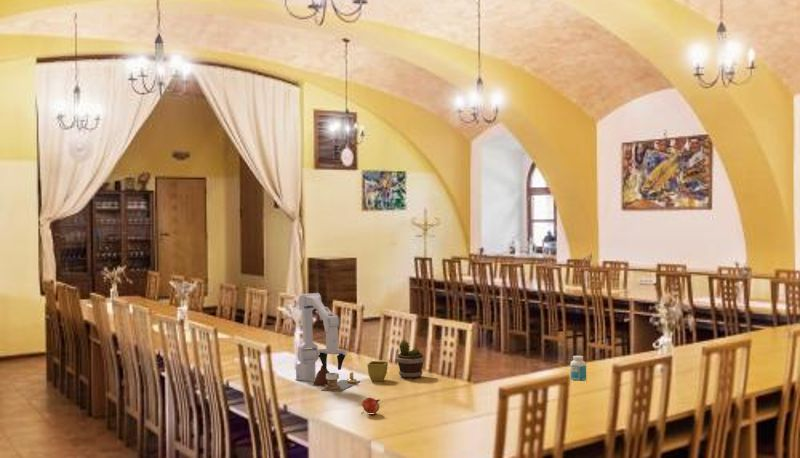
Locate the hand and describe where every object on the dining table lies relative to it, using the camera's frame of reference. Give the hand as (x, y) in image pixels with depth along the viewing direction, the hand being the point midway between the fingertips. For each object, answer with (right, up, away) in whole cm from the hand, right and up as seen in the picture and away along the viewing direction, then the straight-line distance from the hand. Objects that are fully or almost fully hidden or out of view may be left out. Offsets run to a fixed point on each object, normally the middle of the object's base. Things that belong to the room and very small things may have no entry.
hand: (332, 369), depth 381 cm
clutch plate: (0, -4, 0) cm, 4 cm away
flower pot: (+21, -9, +18) cm, 29 cm away
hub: (+9, -9, +12) cm, 17 cm away
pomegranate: (+20, -10, -51) cm, 56 cm away
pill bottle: (+118, -8, +3) cm, 119 cm away
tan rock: (0, -9, 0) cm, 9 cm away
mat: (+4, -9, +6) cm, 12 cm away
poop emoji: (-5, -10, +12) cm, 16 cm away
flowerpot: (+38, -9, +26) cm, 47 cm away
